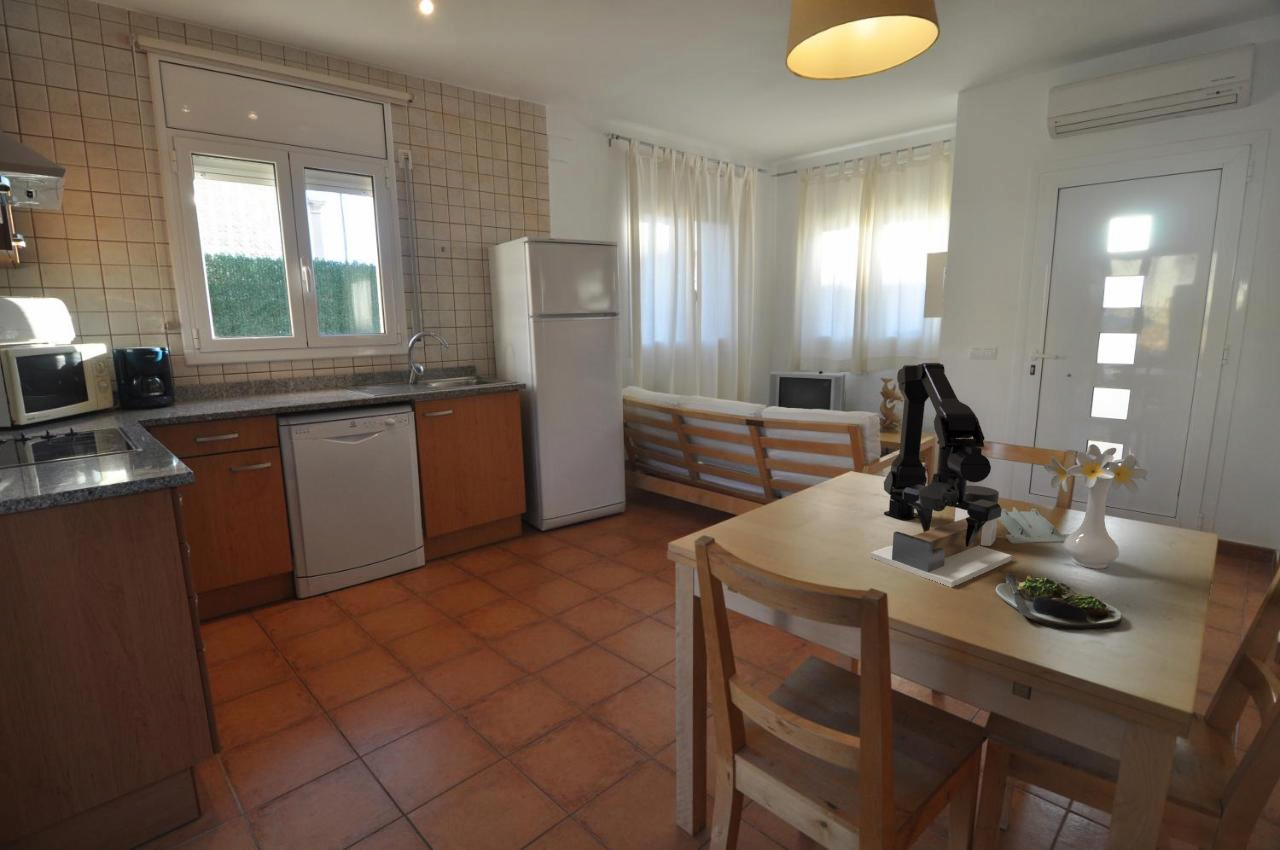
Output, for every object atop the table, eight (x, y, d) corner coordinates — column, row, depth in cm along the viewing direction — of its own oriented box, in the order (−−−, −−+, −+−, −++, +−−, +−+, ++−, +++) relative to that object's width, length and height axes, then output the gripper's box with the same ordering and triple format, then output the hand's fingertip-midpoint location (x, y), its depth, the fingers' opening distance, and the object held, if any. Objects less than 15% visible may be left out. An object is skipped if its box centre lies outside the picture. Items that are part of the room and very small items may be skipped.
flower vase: (1024, 555, 131) (1036, 443, 127) (1097, 549, 134) (1111, 439, 130) (1076, 580, 119) (1091, 456, 114) (1156, 573, 122) (1173, 452, 117)
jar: (945, 535, 144) (949, 486, 142) (972, 531, 147) (976, 483, 144) (975, 548, 136) (980, 497, 134) (1004, 544, 138) (1009, 493, 136)
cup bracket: (908, 553, 130) (910, 527, 129) (944, 565, 124) (946, 538, 123) (891, 559, 127) (893, 532, 126) (927, 572, 120) (929, 544, 119)
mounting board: (931, 536, 144) (931, 531, 143) (1011, 560, 129) (1011, 555, 129) (870, 557, 131) (870, 552, 131) (951, 587, 116) (951, 581, 116)
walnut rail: (962, 539, 138) (964, 518, 137) (980, 544, 135) (982, 523, 134) (904, 560, 126) (906, 537, 126) (922, 567, 123) (924, 543, 122)
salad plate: (966, 583, 119) (968, 561, 118) (1054, 581, 120) (1056, 559, 119) (1035, 634, 100) (1038, 608, 99) (1138, 630, 101) (1142, 604, 100)
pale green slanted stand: (983, 504, 150) (1044, 503, 150) (978, 523, 153) (1038, 522, 152) (1016, 539, 137) (1082, 538, 137) (1009, 560, 140) (1074, 559, 140)
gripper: (889, 466, 131) (885, 535, 134) (976, 485, 116) (969, 562, 118) (919, 459, 137) (914, 525, 140) (1006, 476, 122) (998, 550, 124)
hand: (946, 539), depth 130 cm, fingers open, 9 cm apart
